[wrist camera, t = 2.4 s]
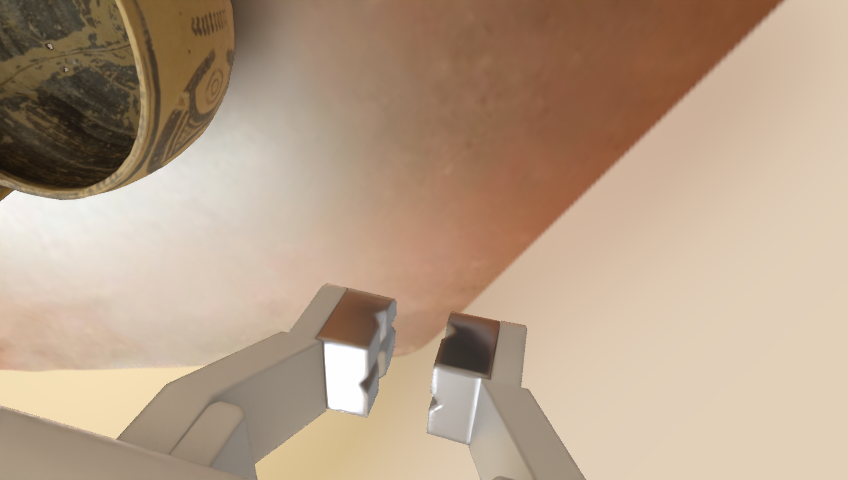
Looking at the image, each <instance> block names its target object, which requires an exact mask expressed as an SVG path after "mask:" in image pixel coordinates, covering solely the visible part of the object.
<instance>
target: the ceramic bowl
mask: <svg viewBox="0 0 848 480" xmlns="http://www.w3.org/2000/svg"><path fill="white" fill-rule="evenodd" d="M48 44H51V45H52V47H53V49H50V48H49V47H48V46H47V45H48ZM233 59H234V23H233V11H232V6H231V2H230V0H0V201H1V200H3V199H4V198H5V197H6V196H7V195H9V194H10V193H11V192H12V191H14V190H17V191H20V192H23V193H27V194H31V195H36V196H41V197H46V198H52V199H59V200H69V199H80V198H85V197H88V196H92V195H96V194H101V193H105V192H109V191H113V190H116V189H118V188H121V187H124V186H126V185H128V184H130V183H133V182H135V181H137V180H139V179H141V178H143V177H146V176H147V175H149V174H151V173H153V172H155V171H156V170H158V169H160V168H162V167H163V166H165V165H167V164H168V163H169V162H171V161H172V160H173V159H175V158H176V157H177V156H179V155H180V154H181V153H182V152H183V151H184V150H185V149H187V148H188V147H189V146H190V145H191V144H192V143H193V142H194V141H195V140H196V139H198V138H199V137H200V136H201V135H202V134H203V132H204V131H205V129H206V128H207V126H208V125H209V123H210V122H211V121H212V119H213V117H214V115H215V114H216V112H217V110H218V108H219V106H220V105H221V103H222V100H223V98H224V95H225V93H226V90H227V88H228V84H229V80H230V75H231V70H232V65H233ZM64 68H67V69H69V70H68V71H66V72H65V69H64Z"/></svg>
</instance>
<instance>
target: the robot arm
mask: <svg viewBox="0 0 848 480" xmlns="http://www.w3.org/2000/svg"><path fill="white" fill-rule="evenodd" d="M395 316H396V300H395V299H393V298H389V297H384V296H380V295H376V294H372V293H368V292H363V291H359V290H355V289H351V288H350V289H348V288H345V287H340V286H336V285H332V284H326V285H324V286H322V287H321V289H320V290H319V291H318V293H317V294H316V296H315V297H314V298H313V300H312V301H311V302H310V304H309V305H308V307H307V308H306V309H305V311H304V312H303V314H302V315H301V316H300V318H299V319H298V320H297V322H296V323H295V325H294V326H293V327H292V329H291V330H290V332H289V333H287V332H280V333H277V334H275V335H273V336H271V337H269V338H266V339H264V340H262V341H260V342H258V343H255V344H253V345H251V346H249V347H247V348H244V349H242V350H240V351H238V352H236V353H234V354H231V355H229V356H227V357H225V358H223V359H220V360H218V361H216V362H214V363H212V364H209V365H207V366H205V367H203V368H201V369H199V370H196V371H194V372H192V373H190V374H188V375H185V376H183V377H181V378H179V379H177V380H175V381H172V382H170V383H168V384H166V385H165V386H164V387H163V388H162V390H161V391H160V392H159V393H158V394H157V395H156V397H154V398H153V400H152V401H151V402H150V403H149V404H148V405H147V406H146V407H145V408H144V409H143V411H141V413H140V414H139V415H138V416H137V417H136V418H135V419H134V420H133V421H132V422H131V423H130V425H129V426H128V427H127V428H126V429H125V430H124V431H123V432H122V433H121V434H120V436H119V437H118V438H117V439H113V438H110V437H106V436H103V435H99V434H96V433H93V432H89V431H86V430H82V429H79V428H76V427H72V426H69V425H65V424H62V423H58V422H55V421H52V420H48V419H45V418H41V417H38V416H35V415H31V414H28V413H25V412H21V411H18V410H15V409H11V408H8V407H4V406H1V405H0V480H257V475H256V470H255V463H257V462H258V461H260V460H261V459H262V458H264V457H265V456H266V455H268V454H269V453H270V452H271V451H273V450H274V449H276V448H277V447H278V446H280V445H281V444H282V443H284V442H285V441H286V440H288V439H289V438H290V437H292V436H293V435H294V434H296V433H297V432H298V431H300V430H301V429H302V428H304V427H305V426H306V425H308V424H309V423H310V422H312V421H313V420H314V419H316V418H317V417H318V416H320V415H321V414H322V413H324V412H325V411H326V408H327V409H332V410H336V411H340V412H344V413H349V414H353V415H358V416H362V417H366V418H367V417H368V414H369V412H370V410H371V407H372V405H373V403H374V400H375V398H376V396H377V393H378V386H379V378H381V377H383V376H384V375H386V372H387V370H388V367H389V364H390V361H391V358H392V354H393V350H394V344H395V332H396V331H395V330H394V328H393V327H392V323H393V321H394V319H395ZM526 334H527V328H526V326H525V325H521V324H515V323H510V322H505V321H501V322H500V321H497V320H492V319H487V318H482V317H477V316H473V315H468V314H463V313H458V312H453V311H452V312H451V313H450V316H449V319H448V322H447V328H446V336H445V338H444V339H442V341H441V344H440V347H439V351H438V354H437V357H436V360H435V364H434V368H433V377H432V386H431V394H432V395H433V397H432V401H431V404H430V408H429V413H428V424H427V433H428V434H431V435H435V436H438V437H442V438H445V439H449V440H452V441H456V442H459V443H463V444H466V445H469V449H470V452H471V455H472V458H473V460H474V463H475V466H476V468H477V471H478V474H479V477H480V479H481V480H586V479H585V478H584V476H583V474H582V473H581V472H580V470H579V468H578V467H577V465H576V463H575V462H574V460H573V459H572V457H571V455H570V454H569V453H568V451H567V449H566V447H565V446H564V444H563V443H562V441H561V440H560V438H559V436H558V435H557V434H556V432H555V430H554V429H553V427H552V425H551V424H550V422H549V421H548V419H547V417H546V416H545V415H544V413H543V411H542V410H541V408H540V406H539V405H538V403H537V402H536V400H535V399H534V397H533V395H532V394H531V392H530V391H529V390H528V389H525V388H521V382H522V372H523V363H524V352H525V344H526V343H525V342H526Z"/></svg>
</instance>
